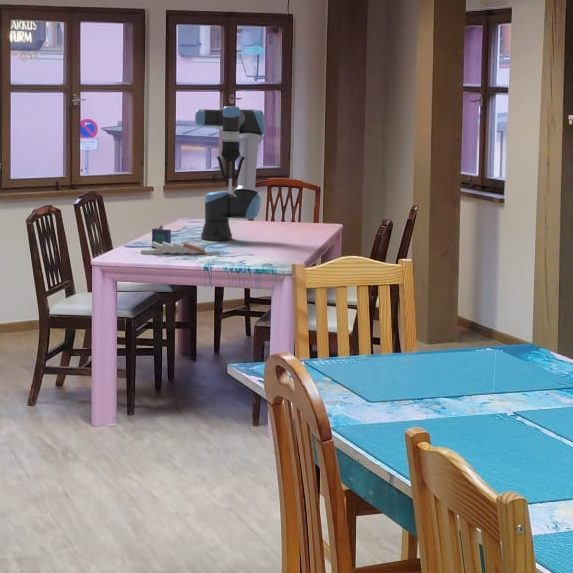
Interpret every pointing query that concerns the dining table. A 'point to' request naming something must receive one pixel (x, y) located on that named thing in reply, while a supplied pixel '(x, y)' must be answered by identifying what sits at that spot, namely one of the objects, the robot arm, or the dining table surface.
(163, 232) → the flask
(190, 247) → the domino
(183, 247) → the domino
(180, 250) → the domino
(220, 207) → the robot arm
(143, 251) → the domino
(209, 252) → the mat
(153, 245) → the domino
